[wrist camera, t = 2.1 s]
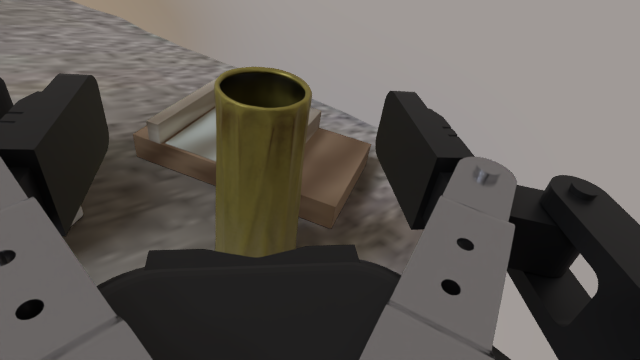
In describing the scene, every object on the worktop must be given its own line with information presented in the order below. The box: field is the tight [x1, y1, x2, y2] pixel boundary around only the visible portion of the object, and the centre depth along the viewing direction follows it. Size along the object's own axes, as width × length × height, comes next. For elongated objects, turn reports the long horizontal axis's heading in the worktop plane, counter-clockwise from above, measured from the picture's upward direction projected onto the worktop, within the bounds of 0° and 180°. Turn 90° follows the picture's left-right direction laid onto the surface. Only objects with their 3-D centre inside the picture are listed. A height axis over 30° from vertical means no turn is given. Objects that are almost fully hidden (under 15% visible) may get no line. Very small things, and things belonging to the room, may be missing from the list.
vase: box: [214, 67, 312, 257], centre depth 26 cm, size 6×6×14 cm
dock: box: [133, 79, 371, 229], centre depth 39 cm, size 20×11×4 cm, turn 68°
